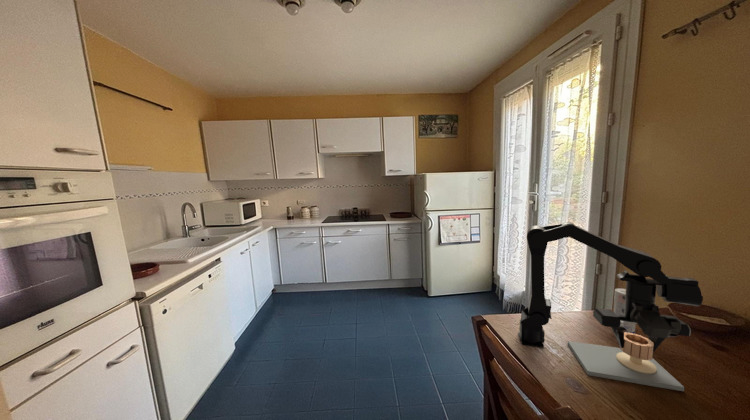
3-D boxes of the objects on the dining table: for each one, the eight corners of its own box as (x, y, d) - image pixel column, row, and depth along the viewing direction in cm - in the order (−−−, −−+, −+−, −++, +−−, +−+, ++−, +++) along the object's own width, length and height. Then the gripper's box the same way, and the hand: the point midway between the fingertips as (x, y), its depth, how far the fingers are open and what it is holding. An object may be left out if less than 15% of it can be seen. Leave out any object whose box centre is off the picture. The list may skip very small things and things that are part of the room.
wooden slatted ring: (628, 357, 70) (629, 344, 69) (615, 343, 76) (616, 331, 75) (658, 362, 67) (659, 348, 67) (642, 347, 73) (643, 334, 73)
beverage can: (639, 337, 85) (642, 295, 84) (620, 335, 86) (622, 294, 85) (626, 327, 90) (629, 288, 89) (608, 326, 92) (610, 287, 90)
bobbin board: (587, 374, 70) (588, 351, 69) (567, 344, 83) (568, 323, 82) (683, 391, 63) (686, 365, 63) (645, 355, 76) (646, 333, 76)
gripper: (614, 306, 65) (611, 362, 67) (713, 316, 59) (707, 377, 61) (593, 289, 76) (591, 337, 77) (675, 295, 70) (671, 348, 71)
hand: (636, 349), depth 71 cm, fingers closed on wooden slatted ring, 6 cm apart
